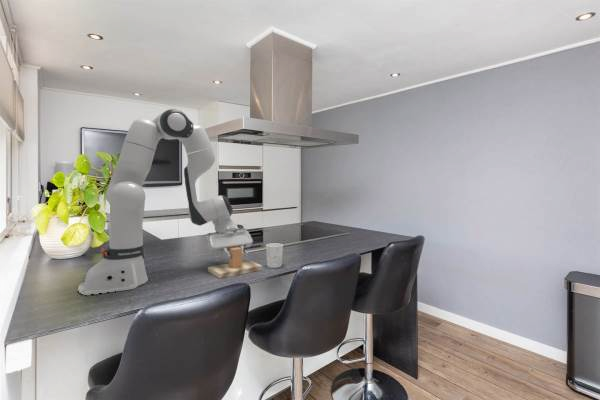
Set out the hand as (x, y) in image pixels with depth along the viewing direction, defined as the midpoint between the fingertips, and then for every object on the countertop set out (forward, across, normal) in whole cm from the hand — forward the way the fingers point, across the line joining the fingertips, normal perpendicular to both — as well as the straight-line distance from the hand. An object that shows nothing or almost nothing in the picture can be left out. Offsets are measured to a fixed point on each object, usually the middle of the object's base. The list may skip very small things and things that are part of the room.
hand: (236, 256), depth 131 cm
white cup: (+7, +18, +2) cm, 19 cm away
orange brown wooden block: (+3, 0, +4) cm, 5 cm away
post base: (+4, 0, +5) cm, 7 cm away
